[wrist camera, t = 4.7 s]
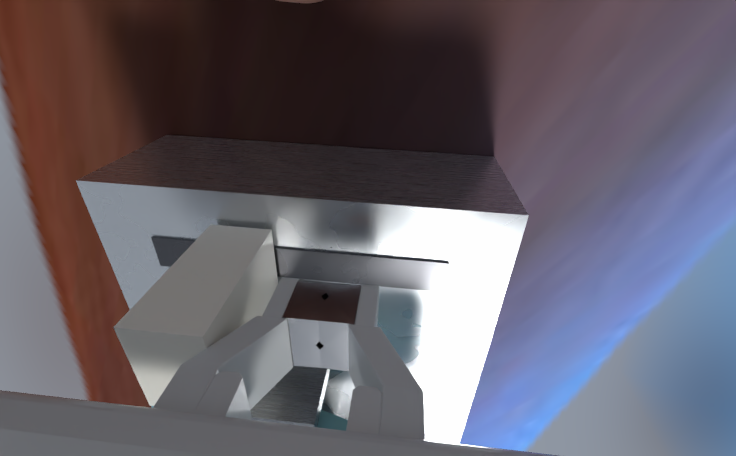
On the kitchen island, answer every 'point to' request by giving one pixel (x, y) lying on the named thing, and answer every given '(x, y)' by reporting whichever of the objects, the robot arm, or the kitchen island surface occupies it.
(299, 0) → the toy ball
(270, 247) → the slider knob
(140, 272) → the switch box
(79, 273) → the kitchen island surface
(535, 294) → the kitchen island surface
